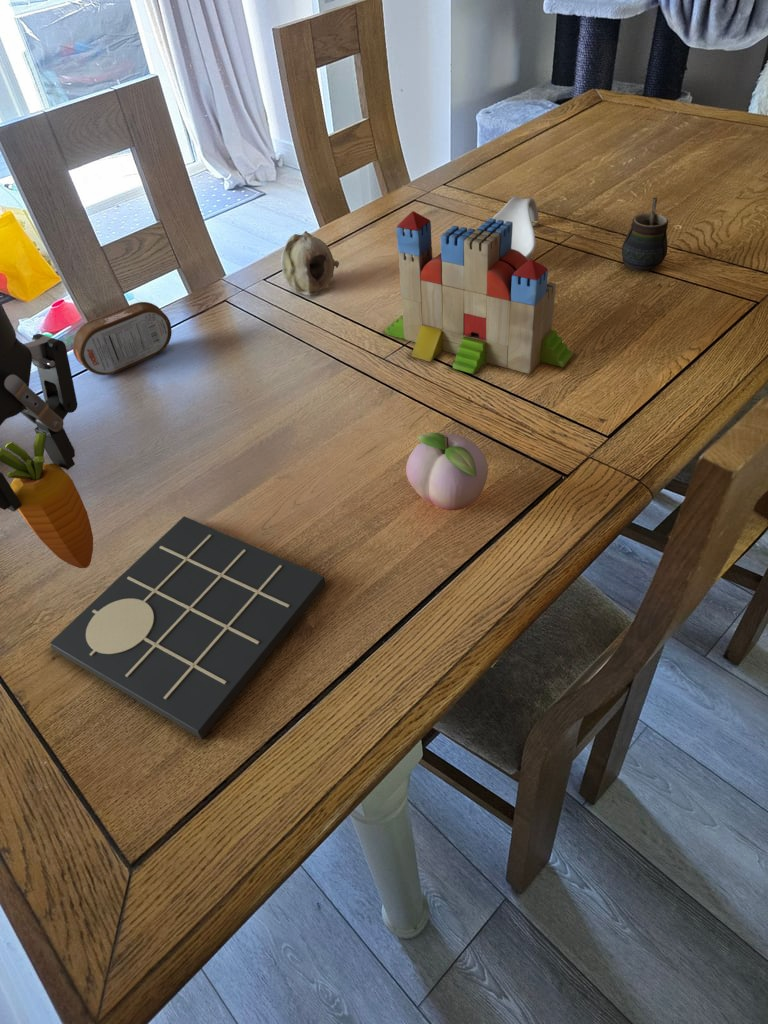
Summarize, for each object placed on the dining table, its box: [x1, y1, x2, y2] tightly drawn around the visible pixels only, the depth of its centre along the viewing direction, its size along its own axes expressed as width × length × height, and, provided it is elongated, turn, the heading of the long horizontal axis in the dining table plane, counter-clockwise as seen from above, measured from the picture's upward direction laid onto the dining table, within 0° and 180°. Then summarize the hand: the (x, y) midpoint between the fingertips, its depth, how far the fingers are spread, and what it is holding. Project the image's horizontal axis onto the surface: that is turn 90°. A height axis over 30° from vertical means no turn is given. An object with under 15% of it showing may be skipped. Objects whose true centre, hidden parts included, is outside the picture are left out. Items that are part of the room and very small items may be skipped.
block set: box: [384, 210, 574, 375], centre depth 98 cm, size 28×14×19 cm, turn 57°
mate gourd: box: [621, 197, 669, 273], centre depth 115 cm, size 7×8×10 cm
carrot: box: [0, 433, 94, 569], centre depth 59 cm, size 5×5×15 cm
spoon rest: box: [492, 196, 539, 261], centre depth 124 cm, size 24×12×7 cm, turn 158°
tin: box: [72, 301, 172, 376], centre depth 106 cm, size 15×3×8 cm, turn 130°
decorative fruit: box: [405, 431, 489, 511], centre depth 78 cm, size 9×8×10 cm
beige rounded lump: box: [280, 230, 340, 296], centre depth 119 cm, size 9×8×10 cm
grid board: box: [49, 515, 327, 740], centre depth 72 cm, size 20×20×2 cm
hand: (38, 484), depth 57 cm, fingers closed on carrot, 5 cm apart
